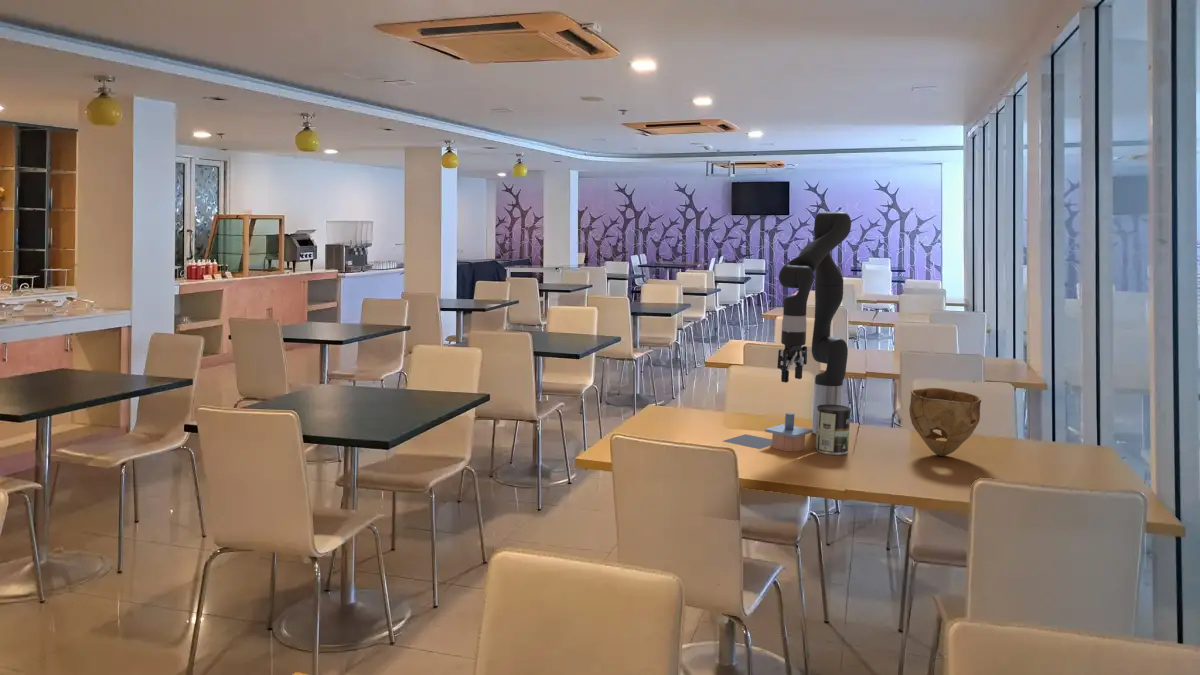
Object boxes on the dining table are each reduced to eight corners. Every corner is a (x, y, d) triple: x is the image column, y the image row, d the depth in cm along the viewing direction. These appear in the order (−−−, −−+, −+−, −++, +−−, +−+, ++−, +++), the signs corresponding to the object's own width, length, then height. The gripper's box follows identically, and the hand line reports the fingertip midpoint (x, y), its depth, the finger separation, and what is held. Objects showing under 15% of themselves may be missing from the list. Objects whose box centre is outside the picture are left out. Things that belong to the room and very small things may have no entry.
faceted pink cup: (782, 443, 304) (783, 426, 303) (810, 449, 297) (811, 432, 296) (765, 448, 296) (766, 431, 295) (794, 454, 290) (795, 437, 289)
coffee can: (847, 448, 299) (850, 405, 298) (849, 456, 289) (852, 411, 288) (814, 445, 301) (816, 403, 300) (815, 453, 291) (817, 409, 290)
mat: (745, 435, 313) (745, 434, 313) (782, 443, 304) (782, 441, 304) (722, 442, 302) (722, 441, 302) (759, 450, 293) (759, 448, 293)
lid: (782, 426, 304) (783, 408, 303) (813, 432, 297) (814, 414, 296) (764, 431, 295) (765, 413, 295) (795, 437, 288) (796, 419, 288)
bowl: (975, 452, 299) (979, 390, 296) (978, 467, 280) (983, 402, 277) (906, 445, 306) (911, 385, 303) (905, 459, 287) (910, 396, 284)
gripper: (794, 326, 300) (792, 376, 302) (771, 330, 289) (769, 381, 291) (815, 328, 295) (813, 379, 297) (793, 332, 284) (790, 384, 286)
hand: (791, 380), depth 294 cm, fingers open, 8 cm apart
